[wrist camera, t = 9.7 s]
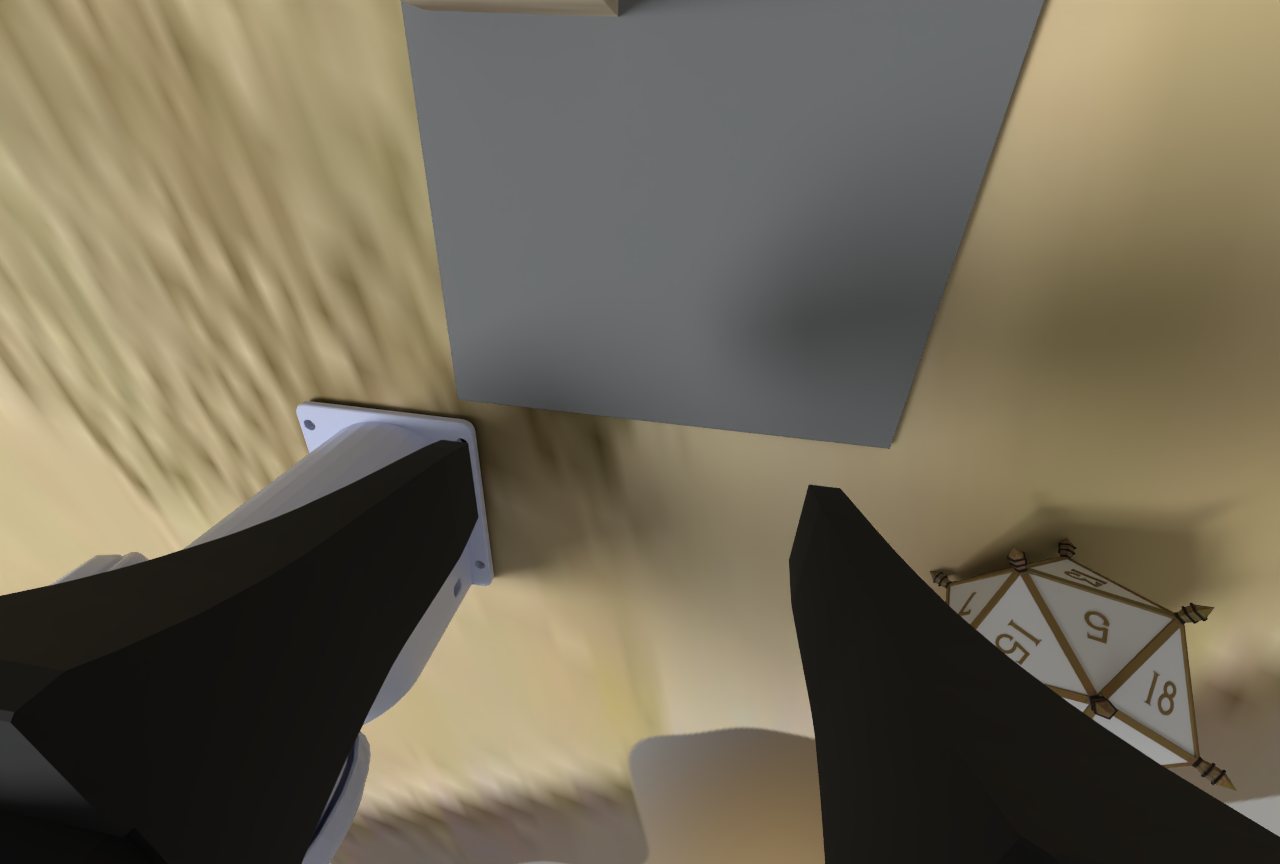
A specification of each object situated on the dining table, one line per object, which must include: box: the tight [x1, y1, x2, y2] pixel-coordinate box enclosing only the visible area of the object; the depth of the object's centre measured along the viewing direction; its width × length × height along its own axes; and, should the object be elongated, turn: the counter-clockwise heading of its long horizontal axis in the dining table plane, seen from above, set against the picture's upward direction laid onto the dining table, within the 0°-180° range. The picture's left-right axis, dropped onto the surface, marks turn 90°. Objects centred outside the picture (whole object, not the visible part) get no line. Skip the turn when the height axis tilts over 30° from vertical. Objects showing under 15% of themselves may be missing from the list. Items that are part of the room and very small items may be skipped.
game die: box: [930, 538, 1237, 791], centre depth 19 cm, size 9×8×10 cm
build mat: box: [401, 0, 1044, 449], centre depth 15 cm, size 22×17×1 cm
